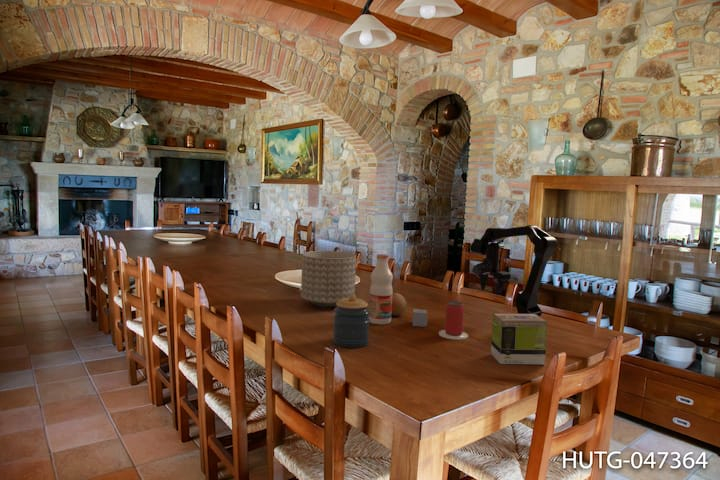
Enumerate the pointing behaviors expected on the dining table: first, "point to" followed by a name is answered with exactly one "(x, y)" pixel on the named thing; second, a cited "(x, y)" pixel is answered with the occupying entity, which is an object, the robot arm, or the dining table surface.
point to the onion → (398, 304)
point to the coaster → (460, 337)
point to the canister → (351, 323)
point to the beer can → (454, 318)
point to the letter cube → (419, 317)
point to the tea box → (518, 338)
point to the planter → (327, 277)
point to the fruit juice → (381, 292)
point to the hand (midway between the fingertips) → (489, 292)
